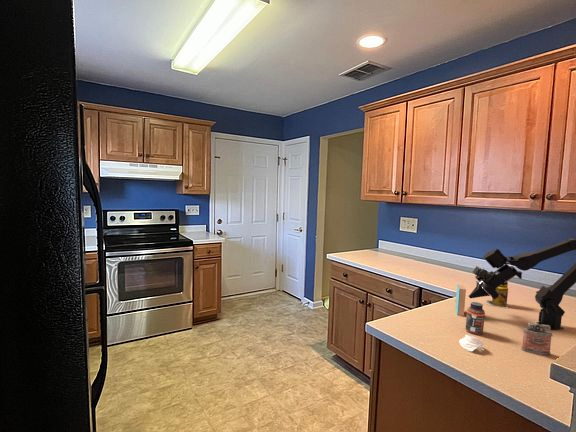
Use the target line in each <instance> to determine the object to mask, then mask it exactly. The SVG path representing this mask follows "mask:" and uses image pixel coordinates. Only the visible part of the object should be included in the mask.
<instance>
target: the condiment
mask: <svg viewBox="0 0 576 432" xmlns="http://www.w3.org/2000/svg"><path fill="white" fill-rule="evenodd" d="M508 284H509V283H508V281H507V282H505V285H504V286H503V285H501V286H499V287H498V288H496V291H497V293H498V294H499V297H498V298H496V299H495V300H494V299H493V298H492V297H491V300H489V299H486V305H488V306H493V307H498V308H503V309H509V306H508V296H509V295H508V294H509V287H508V286H509V285H508Z"/></svg>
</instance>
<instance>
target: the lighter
mask: <svg viewBox="0 0 576 432" xmlns="http://www.w3.org/2000/svg"><path fill="white" fill-rule="evenodd" d="M527 326H528V327H523V328H522V329H523V331H522V332H523V333H522V334H523V335H522V344H521V349H520V350H522V351H523V352H525V353H528V354H534V355H539V356H546V357H550V356H551V346H552V337H553V333H552V332H551V331H550V326H549V325H542V324H541V325H539V324H538V323H536V322H534V323H532V322H528V323H527Z"/></svg>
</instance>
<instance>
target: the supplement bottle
mask: <svg viewBox="0 0 576 432" xmlns="http://www.w3.org/2000/svg"><path fill="white" fill-rule="evenodd" d="M483 306H484V305H483V304H482V303H481V302H477V301H471V302H470V306H469V307H467V309H466V321H465V331H466V332H468V333H470V334H473V335H482V334H484V325H485V317H486V311H485V310H484V309H483Z"/></svg>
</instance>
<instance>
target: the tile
mask: <svg viewBox="0 0 576 432" xmlns="http://www.w3.org/2000/svg"><path fill="white" fill-rule="evenodd" d="M466 291H467V289H466V287H465V285H464V284H459V283H458V284H456V293H455V294H456V295H455V308H454V310H455V313H456V316H459V317H465V306H466V305H465V304H466V293H467V292H466Z"/></svg>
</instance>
